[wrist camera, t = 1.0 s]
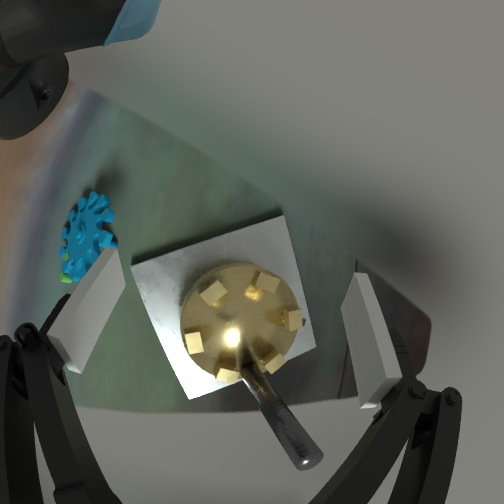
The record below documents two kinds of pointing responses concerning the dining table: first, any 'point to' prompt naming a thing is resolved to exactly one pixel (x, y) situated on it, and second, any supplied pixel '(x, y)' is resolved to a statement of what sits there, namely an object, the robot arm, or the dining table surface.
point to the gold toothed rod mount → (248, 341)
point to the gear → (85, 236)
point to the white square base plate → (200, 262)
